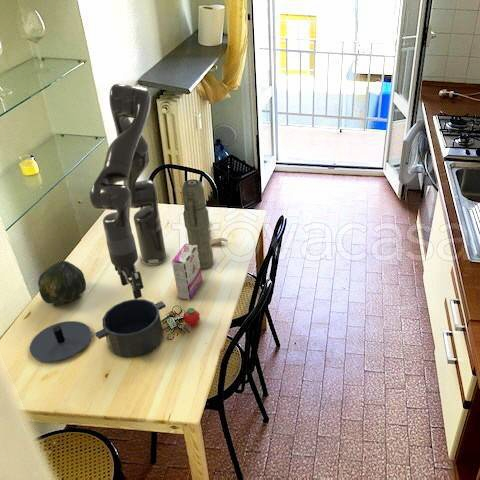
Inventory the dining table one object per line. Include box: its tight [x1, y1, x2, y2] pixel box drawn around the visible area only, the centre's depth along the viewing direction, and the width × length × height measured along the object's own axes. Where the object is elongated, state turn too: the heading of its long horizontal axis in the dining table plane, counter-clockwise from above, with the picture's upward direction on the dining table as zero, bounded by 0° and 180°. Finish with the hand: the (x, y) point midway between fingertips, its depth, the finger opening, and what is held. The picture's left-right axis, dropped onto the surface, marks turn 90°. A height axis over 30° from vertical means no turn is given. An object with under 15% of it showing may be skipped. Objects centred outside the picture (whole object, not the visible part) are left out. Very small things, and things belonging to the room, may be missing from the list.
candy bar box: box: [171, 243, 203, 301], centre depth 180 cm, size 11×5×16 cm, turn 168°
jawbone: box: [208, 221, 229, 246], centre depth 214 cm, size 9×20×2 cm, turn 33°
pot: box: [94, 298, 167, 359], centre depth 160 cm, size 17×22×10 cm
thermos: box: [181, 178, 214, 271], centre depth 188 cm, size 9×12×35 cm
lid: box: [29, 320, 92, 363], centre depth 159 cm, size 18×18×6 cm
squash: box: [37, 260, 87, 306], centre depth 176 cm, size 14×15×15 cm
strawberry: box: [183, 307, 201, 328], centre depth 168 cm, size 5×5×6 cm
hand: (131, 290), depth 157 cm, fingers open, 8 cm apart
